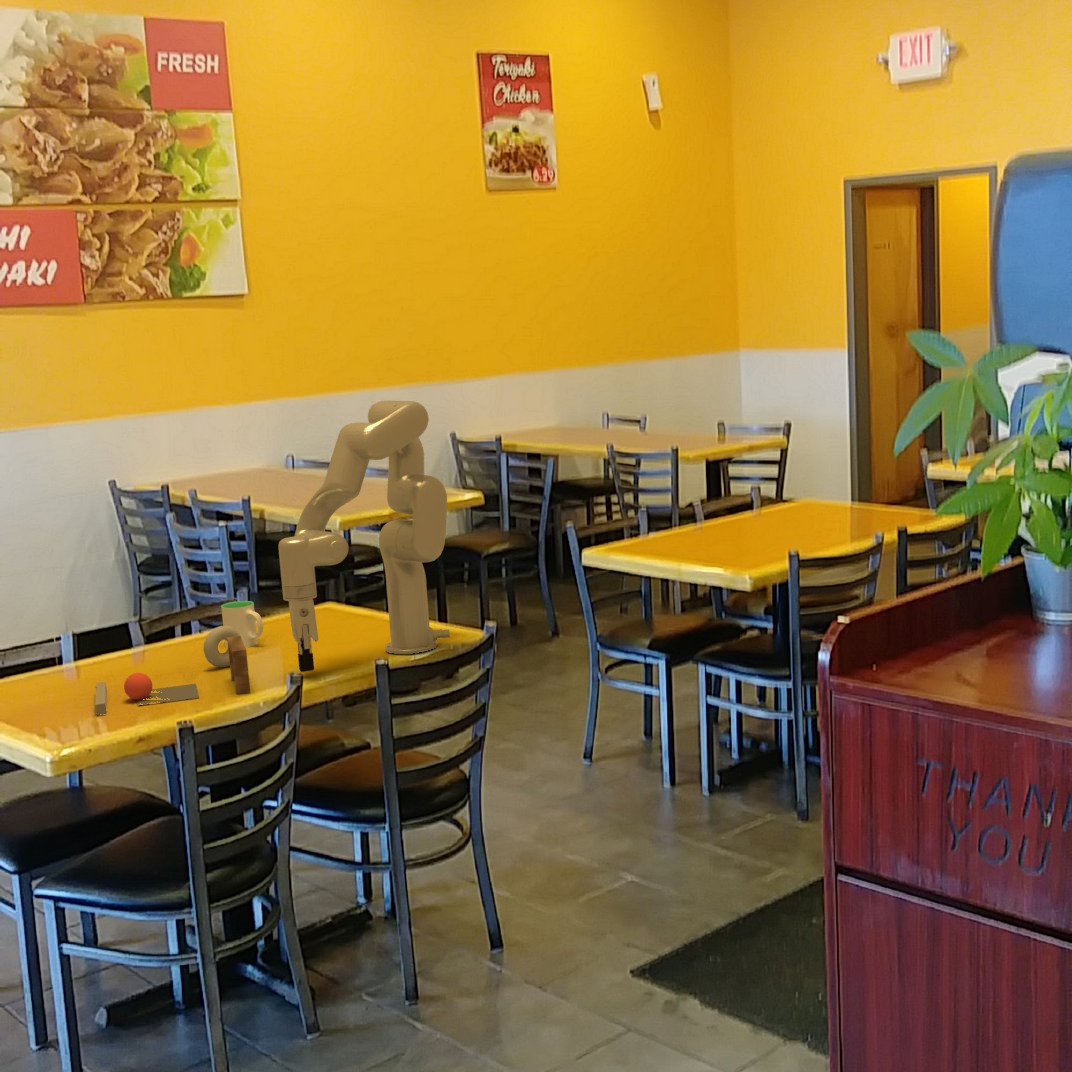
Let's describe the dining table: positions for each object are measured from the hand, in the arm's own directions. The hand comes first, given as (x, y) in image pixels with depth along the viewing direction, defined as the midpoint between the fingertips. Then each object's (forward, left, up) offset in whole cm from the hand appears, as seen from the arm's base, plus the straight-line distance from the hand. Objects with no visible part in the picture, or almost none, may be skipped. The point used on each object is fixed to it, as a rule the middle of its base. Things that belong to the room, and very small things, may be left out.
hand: (306, 670), depth 321 cm
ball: (+37, +1, +2) cm, 37 cm away
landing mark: (+31, 0, -2) cm, 31 cm away
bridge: (+15, 0, -2) cm, 15 cm away
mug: (+10, -41, -2) cm, 42 cm away
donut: (+17, -20, -2) cm, 26 cm away
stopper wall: (+45, 0, -2) cm, 45 cm away
